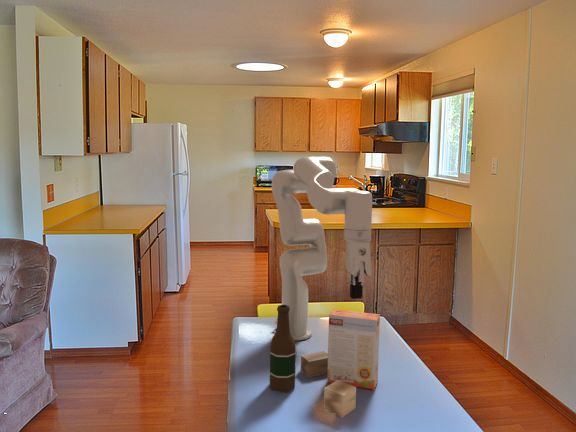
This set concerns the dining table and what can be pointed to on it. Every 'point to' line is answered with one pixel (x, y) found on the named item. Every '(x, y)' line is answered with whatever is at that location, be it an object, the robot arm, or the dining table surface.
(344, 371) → the cracker box
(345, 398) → the maple block
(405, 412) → the dining table surface
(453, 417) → the dining table surface
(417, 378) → the dining table surface
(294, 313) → the robot arm
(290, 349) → the beer bottle
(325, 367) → the walnut block
